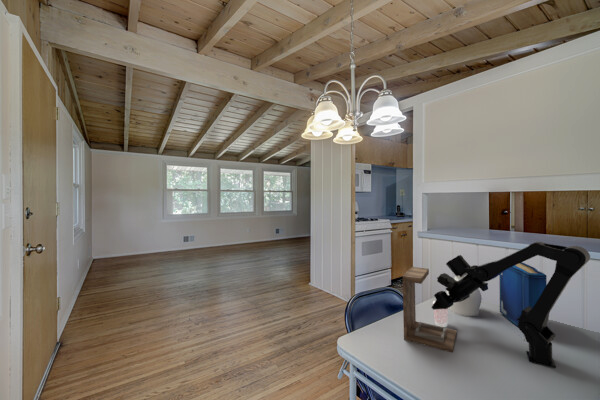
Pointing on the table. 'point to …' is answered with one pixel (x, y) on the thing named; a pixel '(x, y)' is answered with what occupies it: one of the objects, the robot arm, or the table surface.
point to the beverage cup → (441, 316)
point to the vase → (467, 303)
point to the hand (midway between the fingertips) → (438, 305)
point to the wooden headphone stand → (419, 330)
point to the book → (520, 290)
